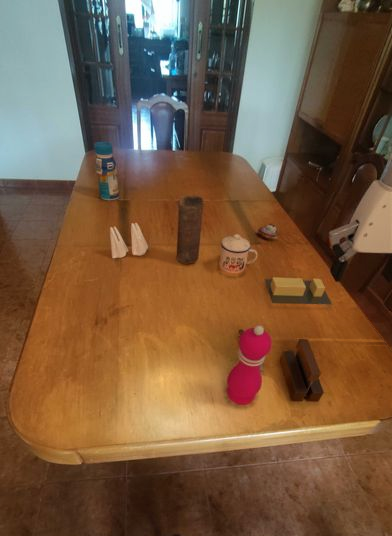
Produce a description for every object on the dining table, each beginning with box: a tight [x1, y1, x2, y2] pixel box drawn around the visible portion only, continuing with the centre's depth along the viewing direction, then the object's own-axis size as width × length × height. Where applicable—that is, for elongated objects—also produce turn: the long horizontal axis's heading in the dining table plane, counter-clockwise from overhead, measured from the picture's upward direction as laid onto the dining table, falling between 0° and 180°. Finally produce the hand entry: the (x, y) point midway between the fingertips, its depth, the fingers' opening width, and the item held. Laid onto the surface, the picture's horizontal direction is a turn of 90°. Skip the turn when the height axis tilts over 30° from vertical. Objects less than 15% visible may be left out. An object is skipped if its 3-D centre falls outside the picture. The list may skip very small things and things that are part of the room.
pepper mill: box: [226, 324, 273, 406], centre depth 63 cm, size 7×7×20 cm
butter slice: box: [309, 278, 326, 297], centre depth 95 cm, size 2×5×3 cm, turn 2°
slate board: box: [264, 278, 333, 306], centre depth 96 cm, size 18×12×1 cm, turn 92°
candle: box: [175, 194, 205, 264], centre depth 99 cm, size 8×7×20 cm
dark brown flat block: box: [295, 338, 322, 391], centre depth 71 cm, size 2×10×8 cm, turn 2°
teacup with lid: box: [218, 233, 258, 274], centre depth 100 cm, size 12×9×12 cm
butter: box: [270, 276, 306, 296], centre depth 94 cm, size 9×5×3 cm, turn 92°
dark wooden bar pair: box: [279, 350, 324, 403], centre depth 72 cm, size 6×12×4 cm, turn 2°
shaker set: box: [109, 222, 149, 259], centre depth 102 cm, size 12×4×11 cm, turn 99°
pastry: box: [257, 222, 279, 241], centre depth 120 cm, size 8×8×5 cm
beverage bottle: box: [93, 141, 120, 201], centre depth 130 cm, size 8×8×20 cm
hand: (360, 277), depth 58 cm, fingers open, 9 cm apart
